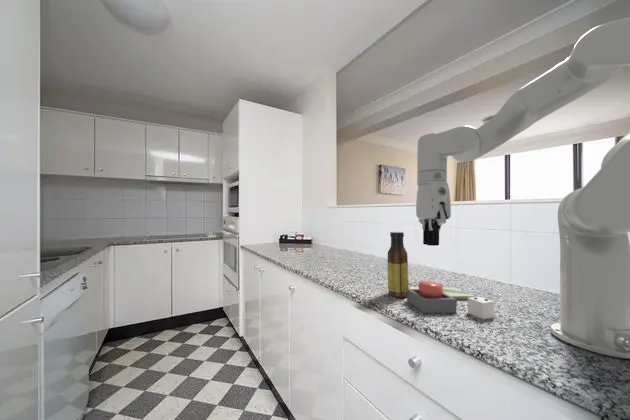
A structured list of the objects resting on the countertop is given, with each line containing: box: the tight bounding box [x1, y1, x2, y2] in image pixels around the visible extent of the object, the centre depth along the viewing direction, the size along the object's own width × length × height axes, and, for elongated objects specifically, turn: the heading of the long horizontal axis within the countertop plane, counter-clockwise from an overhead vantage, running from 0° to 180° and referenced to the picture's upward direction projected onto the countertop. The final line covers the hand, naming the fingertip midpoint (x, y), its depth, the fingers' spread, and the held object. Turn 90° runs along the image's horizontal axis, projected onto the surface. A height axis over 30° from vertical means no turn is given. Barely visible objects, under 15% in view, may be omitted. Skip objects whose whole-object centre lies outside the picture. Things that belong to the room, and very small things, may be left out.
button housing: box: [406, 289, 458, 314], centre depth 68 cm, size 9×9×4 cm
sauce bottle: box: [387, 231, 410, 298], centre depth 77 cm, size 6×6×20 cm
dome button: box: [418, 280, 444, 298], centre depth 68 cm, size 6×6×3 cm
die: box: [467, 296, 495, 320], centre depth 62 cm, size 4×4×4 cm
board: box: [409, 286, 477, 301], centre depth 78 cm, size 10×18×1 cm, turn 95°
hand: (431, 244), depth 68 cm, fingers closed
